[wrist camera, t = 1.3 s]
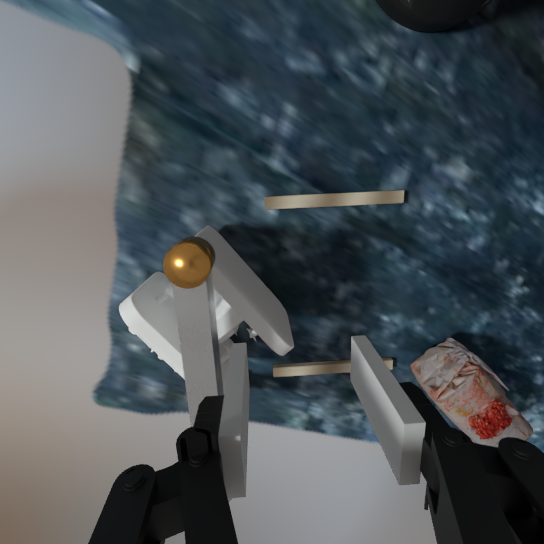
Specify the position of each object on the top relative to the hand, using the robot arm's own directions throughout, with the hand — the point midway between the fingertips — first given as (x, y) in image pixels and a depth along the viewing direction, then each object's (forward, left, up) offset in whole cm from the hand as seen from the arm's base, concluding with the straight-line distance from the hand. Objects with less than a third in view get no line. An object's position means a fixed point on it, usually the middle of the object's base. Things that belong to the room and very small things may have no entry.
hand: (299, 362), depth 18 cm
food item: (-24, +18, -23) cm, 38 cm away
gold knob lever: (+7, +6, -10) cm, 14 cm away
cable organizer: (+7, +4, -23) cm, 25 cm away
